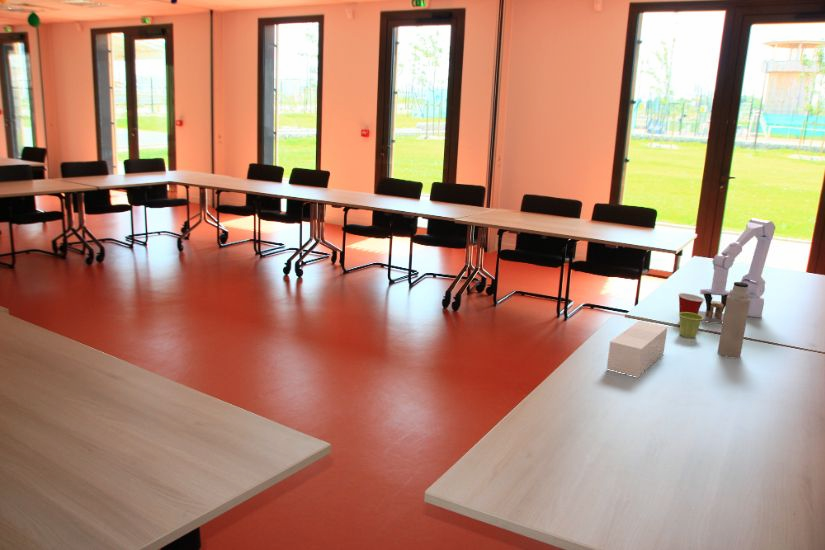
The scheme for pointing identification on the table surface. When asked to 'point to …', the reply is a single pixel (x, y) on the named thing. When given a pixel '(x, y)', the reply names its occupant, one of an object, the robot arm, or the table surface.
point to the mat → (713, 319)
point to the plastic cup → (689, 303)
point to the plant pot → (689, 324)
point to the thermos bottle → (734, 321)
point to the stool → (717, 311)
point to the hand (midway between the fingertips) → (714, 310)
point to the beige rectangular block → (637, 348)
